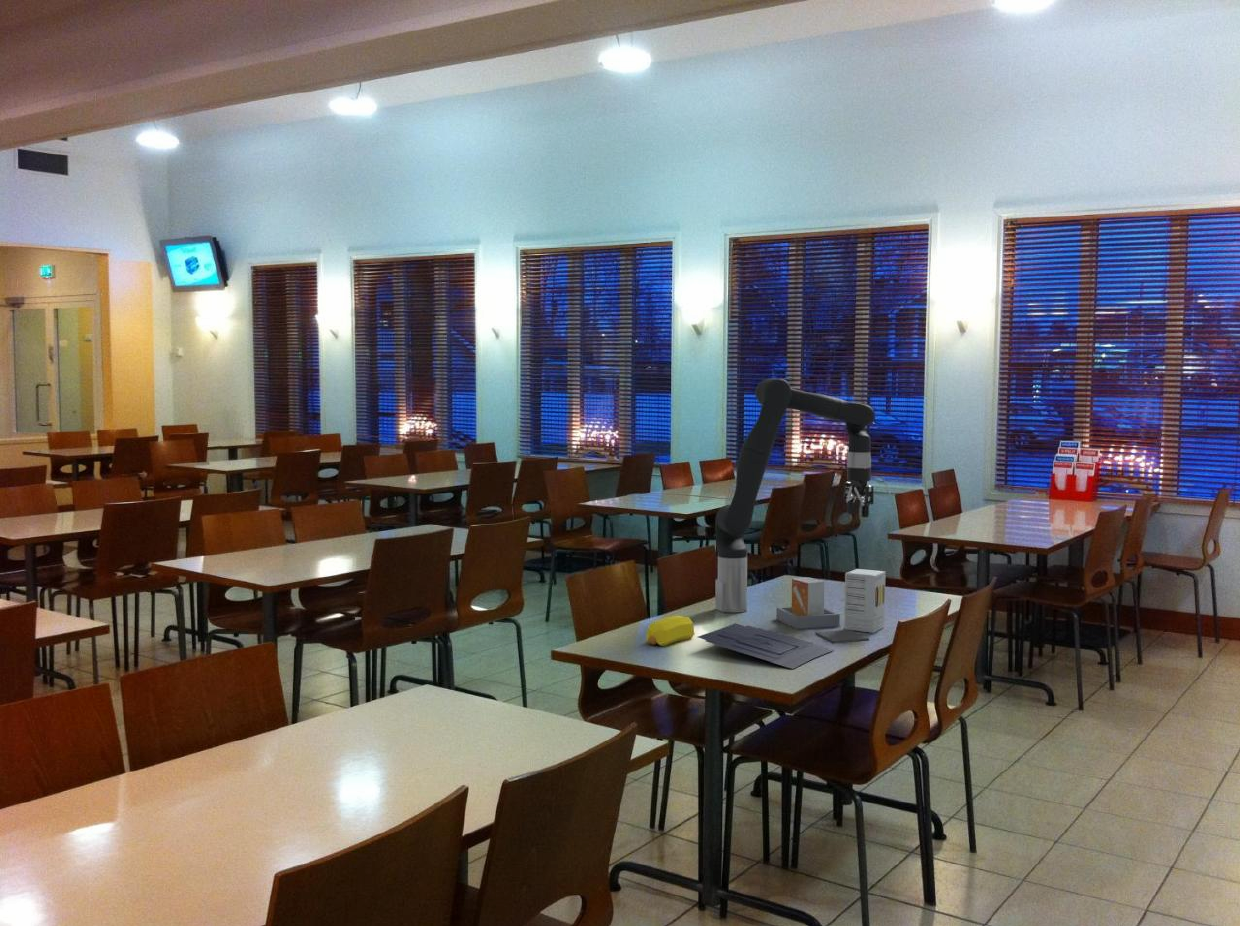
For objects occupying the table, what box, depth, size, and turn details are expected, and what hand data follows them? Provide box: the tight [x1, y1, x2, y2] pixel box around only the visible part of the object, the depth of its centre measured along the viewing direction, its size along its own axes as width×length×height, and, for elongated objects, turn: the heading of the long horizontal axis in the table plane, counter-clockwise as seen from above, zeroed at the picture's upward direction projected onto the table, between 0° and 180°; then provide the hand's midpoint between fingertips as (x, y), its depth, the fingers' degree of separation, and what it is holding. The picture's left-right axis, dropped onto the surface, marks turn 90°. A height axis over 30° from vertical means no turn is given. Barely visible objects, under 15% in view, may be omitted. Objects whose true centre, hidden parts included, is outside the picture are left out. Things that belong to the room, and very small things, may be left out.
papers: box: [697, 623, 834, 670], centre depth 294 cm, size 24×30×4 cm
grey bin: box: [775, 606, 841, 630], centre depth 329 cm, size 14×14×4 cm
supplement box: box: [843, 568, 886, 634], centre depth 321 cm, size 10×9×17 cm
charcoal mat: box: [815, 629, 870, 644], centre depth 310 cm, size 11×11×1 cm
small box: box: [791, 576, 825, 616], centre depth 329 cm, size 8×6×13 cm
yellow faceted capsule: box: [645, 614, 695, 647], centre depth 306 cm, size 18×7×8 cm
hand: (857, 515), depth 357 cm, fingers open, 8 cm apart
